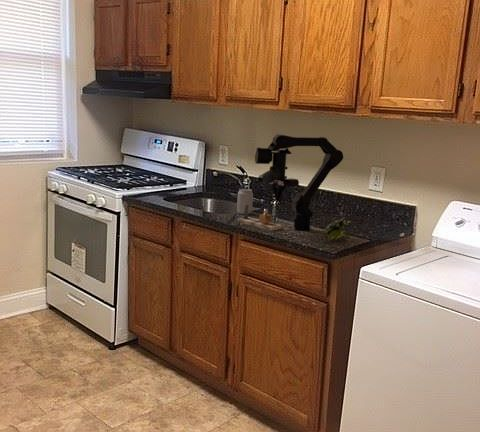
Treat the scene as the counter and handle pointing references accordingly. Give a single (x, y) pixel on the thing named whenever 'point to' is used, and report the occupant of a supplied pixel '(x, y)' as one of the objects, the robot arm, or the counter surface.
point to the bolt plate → (257, 221)
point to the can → (244, 200)
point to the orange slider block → (265, 217)
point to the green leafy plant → (337, 228)
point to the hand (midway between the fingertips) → (276, 200)
